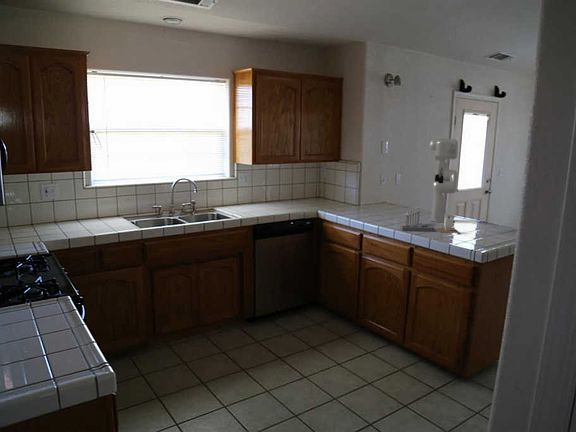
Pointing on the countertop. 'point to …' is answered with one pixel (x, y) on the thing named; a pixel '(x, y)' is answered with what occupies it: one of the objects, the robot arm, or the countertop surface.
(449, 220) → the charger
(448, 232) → the walnut board
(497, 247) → the countertop surface
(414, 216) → the test tube rack
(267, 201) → the countertop surface
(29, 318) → the countertop surface
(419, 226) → the power strip
